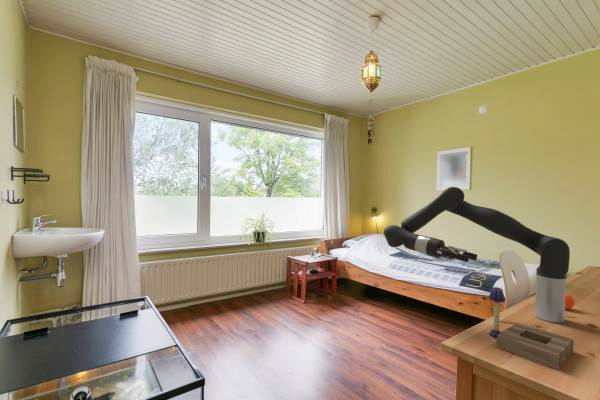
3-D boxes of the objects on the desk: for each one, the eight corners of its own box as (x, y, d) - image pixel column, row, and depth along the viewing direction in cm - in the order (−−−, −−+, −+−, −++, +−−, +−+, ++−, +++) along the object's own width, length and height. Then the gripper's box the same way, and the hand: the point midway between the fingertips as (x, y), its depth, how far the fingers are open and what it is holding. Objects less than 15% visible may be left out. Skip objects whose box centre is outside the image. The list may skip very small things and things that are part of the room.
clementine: (553, 304, 139) (553, 289, 139) (573, 307, 134) (573, 292, 134) (553, 308, 133) (554, 292, 133) (574, 312, 128) (575, 296, 128)
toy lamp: (506, 340, 99) (508, 290, 99) (491, 338, 100) (492, 289, 100) (499, 333, 104) (501, 286, 104) (485, 332, 105) (486, 285, 105)
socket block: (516, 333, 105) (517, 322, 105) (573, 351, 93) (573, 339, 93) (496, 347, 94) (497, 334, 94) (557, 369, 82) (558, 355, 82)
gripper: (423, 237, 115) (467, 249, 103) (438, 236, 124) (481, 247, 112) (419, 256, 115) (463, 270, 103) (435, 254, 125) (477, 266, 113)
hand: (472, 258), depth 108 cm, fingers open, 8 cm apart
